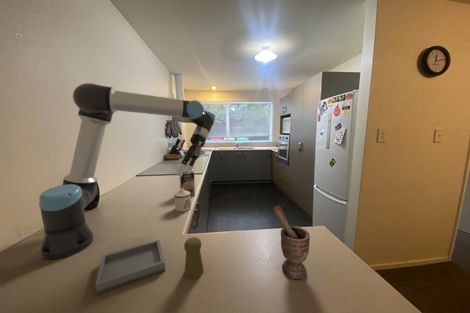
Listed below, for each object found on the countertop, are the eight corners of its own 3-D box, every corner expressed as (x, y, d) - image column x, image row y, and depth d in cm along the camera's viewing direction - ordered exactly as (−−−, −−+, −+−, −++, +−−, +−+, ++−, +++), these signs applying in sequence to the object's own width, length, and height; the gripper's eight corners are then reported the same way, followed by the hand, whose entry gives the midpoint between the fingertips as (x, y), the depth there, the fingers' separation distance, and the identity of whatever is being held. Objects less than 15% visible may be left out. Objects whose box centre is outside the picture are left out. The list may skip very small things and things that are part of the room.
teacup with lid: (186, 212, 100) (185, 192, 98) (171, 211, 102) (170, 191, 100) (196, 204, 111) (195, 185, 110) (182, 202, 114) (181, 184, 112)
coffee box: (181, 198, 121) (180, 174, 119) (180, 194, 127) (179, 172, 125) (195, 196, 125) (194, 173, 122) (193, 193, 131) (192, 171, 128)
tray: (96, 295, 51) (95, 285, 50) (103, 263, 63) (102, 255, 62) (165, 270, 59) (164, 262, 59) (159, 246, 71) (159, 239, 71)
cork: (195, 262, 63) (194, 232, 61) (207, 270, 59) (206, 239, 57) (180, 272, 58) (178, 240, 57) (192, 282, 54) (190, 248, 53)
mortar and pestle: (267, 273, 58) (268, 213, 55) (273, 255, 66) (274, 202, 63) (307, 284, 53) (310, 220, 50) (308, 264, 61) (311, 207, 58)
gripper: (216, 133, 87) (199, 174, 78) (197, 146, 107) (182, 179, 99) (202, 125, 84) (183, 166, 75) (185, 140, 104) (169, 174, 96)
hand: (182, 174), depth 87 cm, fingers open, 13 cm apart
